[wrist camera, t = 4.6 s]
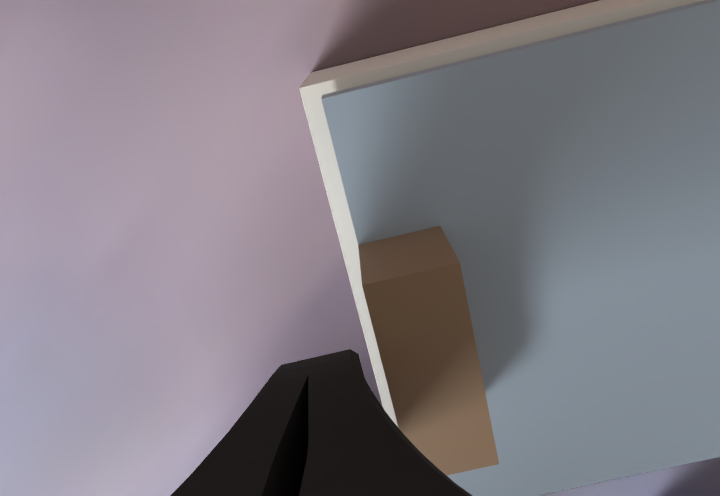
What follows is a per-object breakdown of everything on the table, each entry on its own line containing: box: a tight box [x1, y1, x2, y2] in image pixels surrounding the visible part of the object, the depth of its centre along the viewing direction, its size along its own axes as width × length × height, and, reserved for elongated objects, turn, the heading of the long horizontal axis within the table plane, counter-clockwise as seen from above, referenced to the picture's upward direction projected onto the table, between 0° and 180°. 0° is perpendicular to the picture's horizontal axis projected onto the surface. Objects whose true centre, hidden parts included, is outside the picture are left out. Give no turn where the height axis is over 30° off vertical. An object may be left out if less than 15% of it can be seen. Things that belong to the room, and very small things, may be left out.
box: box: [299, 0, 703, 427], centre depth 16 cm, size 10×14×6 cm
